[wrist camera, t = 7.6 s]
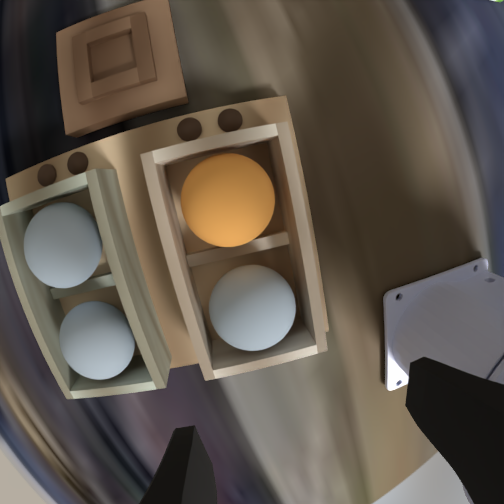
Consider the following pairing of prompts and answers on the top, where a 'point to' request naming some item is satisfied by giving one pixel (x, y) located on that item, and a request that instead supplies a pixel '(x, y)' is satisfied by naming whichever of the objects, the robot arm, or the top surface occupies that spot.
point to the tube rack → (169, 245)
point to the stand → (119, 67)
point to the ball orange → (227, 200)
